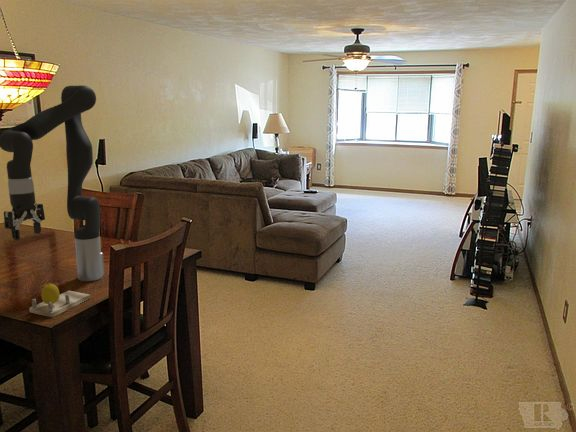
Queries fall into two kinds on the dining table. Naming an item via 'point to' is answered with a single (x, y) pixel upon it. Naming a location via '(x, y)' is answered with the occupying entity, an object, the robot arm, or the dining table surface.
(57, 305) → the peg board
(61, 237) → the dining table surface
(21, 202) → the robot arm
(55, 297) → the lemon
